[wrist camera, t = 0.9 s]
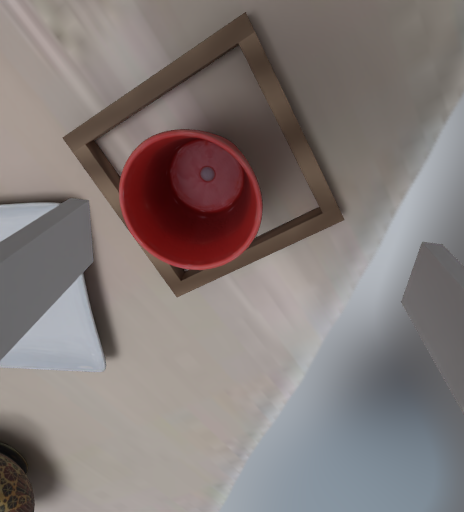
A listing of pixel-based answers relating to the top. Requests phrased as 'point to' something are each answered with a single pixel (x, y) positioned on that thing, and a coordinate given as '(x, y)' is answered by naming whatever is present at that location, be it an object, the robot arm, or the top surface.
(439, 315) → the robot arm
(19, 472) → the ceramic bowl
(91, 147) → the holder frame
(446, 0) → the top surface
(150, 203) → the flower pot
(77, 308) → the salad plate
